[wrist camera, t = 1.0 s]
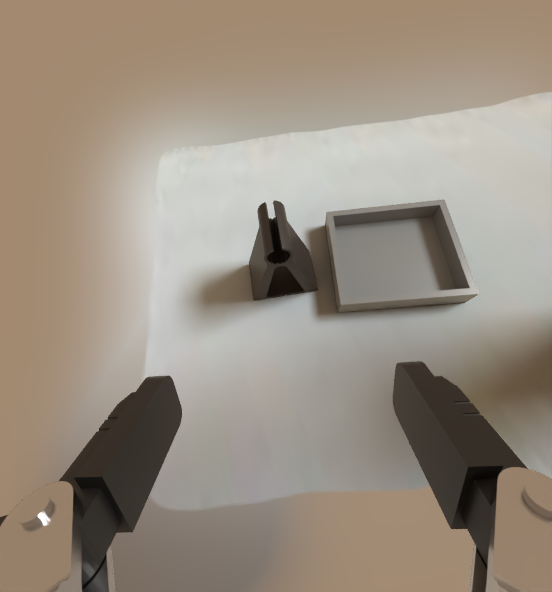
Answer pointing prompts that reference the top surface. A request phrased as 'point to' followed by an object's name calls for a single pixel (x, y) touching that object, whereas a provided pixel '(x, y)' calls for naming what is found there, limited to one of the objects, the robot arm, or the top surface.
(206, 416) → the top surface
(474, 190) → the top surface
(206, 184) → the top surface
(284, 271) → the phone stand
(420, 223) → the tray
